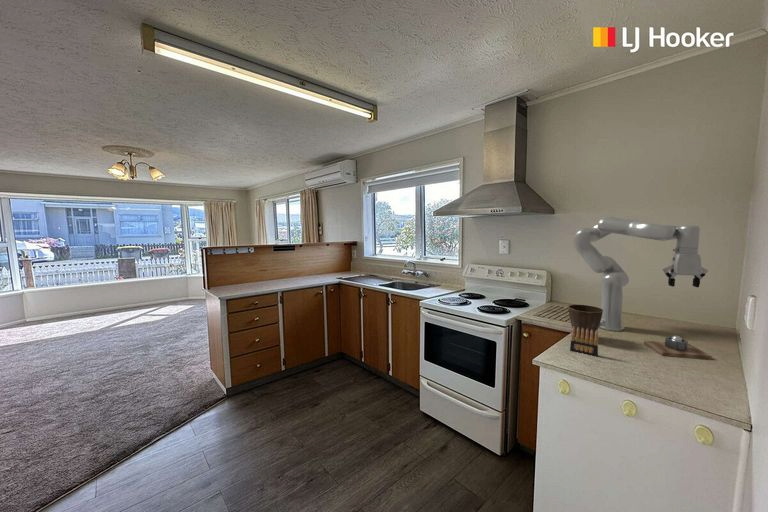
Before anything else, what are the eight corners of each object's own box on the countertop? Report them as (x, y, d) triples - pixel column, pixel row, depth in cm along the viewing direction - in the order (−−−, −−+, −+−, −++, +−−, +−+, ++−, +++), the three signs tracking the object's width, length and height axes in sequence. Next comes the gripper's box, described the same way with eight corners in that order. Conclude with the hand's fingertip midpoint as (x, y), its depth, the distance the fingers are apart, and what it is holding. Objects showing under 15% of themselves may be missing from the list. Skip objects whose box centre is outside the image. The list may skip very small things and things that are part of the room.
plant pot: (560, 335, 163) (561, 305, 161) (581, 331, 167) (582, 303, 165) (586, 345, 148) (588, 313, 147) (608, 341, 153) (610, 310, 151)
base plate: (662, 355, 136) (662, 352, 136) (643, 343, 150) (644, 340, 149) (711, 359, 132) (711, 356, 132) (688, 346, 145) (688, 343, 145)
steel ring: (671, 350, 138) (672, 341, 138) (661, 344, 145) (662, 336, 144) (690, 351, 136) (691, 343, 136) (679, 345, 143) (680, 337, 143)
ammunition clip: (597, 355, 137) (599, 329, 136) (597, 357, 136) (599, 331, 135) (570, 349, 144) (571, 325, 143) (569, 350, 143) (571, 326, 141)
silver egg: (673, 349, 139) (674, 336, 139) (668, 346, 143) (669, 334, 142) (683, 349, 138) (684, 337, 138) (677, 346, 142) (678, 334, 141)
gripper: (670, 251, 144) (667, 287, 146) (715, 252, 140) (711, 288, 142) (660, 250, 151) (657, 284, 153) (702, 250, 147) (699, 285, 149)
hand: (683, 286), depth 147 cm, fingers open, 9 cm apart
